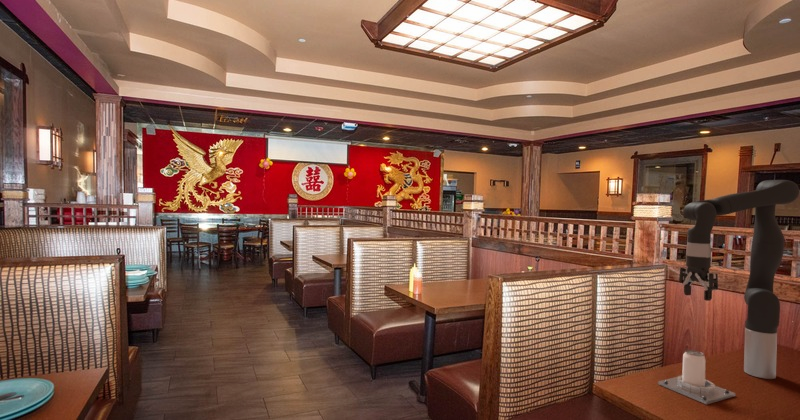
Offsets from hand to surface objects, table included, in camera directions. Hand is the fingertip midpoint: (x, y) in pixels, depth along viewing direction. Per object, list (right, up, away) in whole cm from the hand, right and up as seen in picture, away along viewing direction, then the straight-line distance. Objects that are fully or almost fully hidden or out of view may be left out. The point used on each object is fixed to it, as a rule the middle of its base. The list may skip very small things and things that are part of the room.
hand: (697, 297), depth 152 cm
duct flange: (-9, -30, -11) cm, 33 cm away
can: (-9, -29, -10) cm, 32 cm away
